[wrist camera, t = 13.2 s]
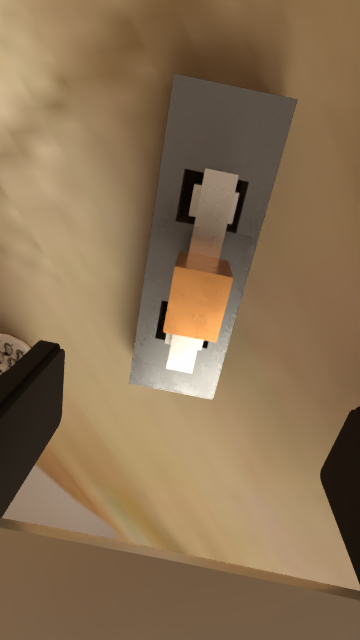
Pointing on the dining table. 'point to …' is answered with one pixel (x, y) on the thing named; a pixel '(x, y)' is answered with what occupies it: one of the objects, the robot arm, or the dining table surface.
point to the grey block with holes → (176, 231)
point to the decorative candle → (11, 351)
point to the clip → (201, 272)
